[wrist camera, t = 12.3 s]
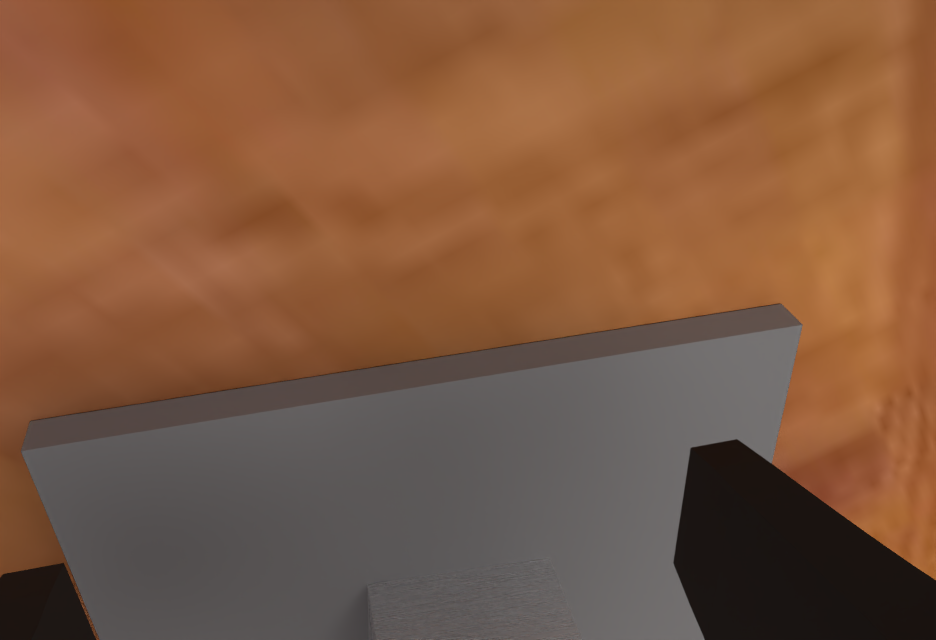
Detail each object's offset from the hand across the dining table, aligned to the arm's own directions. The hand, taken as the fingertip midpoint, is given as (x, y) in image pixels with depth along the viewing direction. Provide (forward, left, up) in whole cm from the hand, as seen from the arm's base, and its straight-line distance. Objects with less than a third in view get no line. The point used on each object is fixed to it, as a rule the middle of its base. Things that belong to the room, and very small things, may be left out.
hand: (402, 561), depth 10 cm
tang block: (+2, -13, -9) cm, 16 cm away
